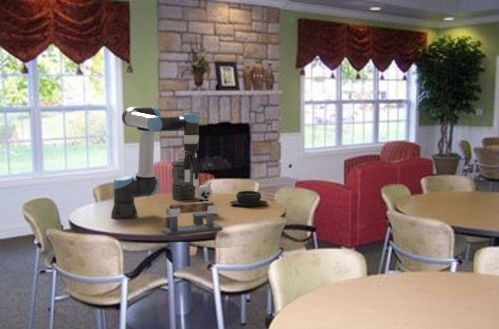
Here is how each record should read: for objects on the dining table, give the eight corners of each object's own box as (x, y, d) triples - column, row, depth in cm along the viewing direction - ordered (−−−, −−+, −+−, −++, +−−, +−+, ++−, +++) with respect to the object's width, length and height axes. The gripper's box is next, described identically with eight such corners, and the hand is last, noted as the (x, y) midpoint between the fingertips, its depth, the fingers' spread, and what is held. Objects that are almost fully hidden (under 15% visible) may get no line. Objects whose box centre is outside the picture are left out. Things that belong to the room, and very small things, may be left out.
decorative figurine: (193, 217, 315) (193, 183, 313) (190, 212, 329) (190, 180, 327) (218, 216, 319) (218, 183, 316) (214, 211, 333) (214, 179, 330)
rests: (168, 228, 288) (168, 218, 288) (165, 226, 293) (165, 217, 292) (203, 224, 297) (203, 215, 296) (200, 222, 301) (200, 213, 301)
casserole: (265, 202, 364) (265, 190, 363) (269, 207, 346) (269, 194, 345) (228, 202, 362) (228, 190, 361) (230, 208, 343) (230, 195, 343)
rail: (172, 214, 275) (172, 205, 275) (170, 212, 279) (170, 204, 279) (213, 210, 285) (213, 202, 284) (210, 209, 288) (210, 201, 288)
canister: (168, 199, 373) (168, 159, 370) (178, 195, 388) (177, 157, 385) (189, 200, 369) (189, 160, 366) (198, 197, 384) (198, 158, 381)
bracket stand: (167, 235, 272) (167, 210, 271) (161, 231, 281) (161, 206, 280) (222, 229, 285) (222, 205, 283) (215, 225, 294) (215, 202, 292)
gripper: (206, 144, 268) (206, 186, 271) (190, 141, 291) (190, 179, 293) (192, 145, 265) (192, 187, 268) (177, 141, 288) (177, 180, 290)
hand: (191, 183), depth 280 cm, fingers open, 13 cm apart
